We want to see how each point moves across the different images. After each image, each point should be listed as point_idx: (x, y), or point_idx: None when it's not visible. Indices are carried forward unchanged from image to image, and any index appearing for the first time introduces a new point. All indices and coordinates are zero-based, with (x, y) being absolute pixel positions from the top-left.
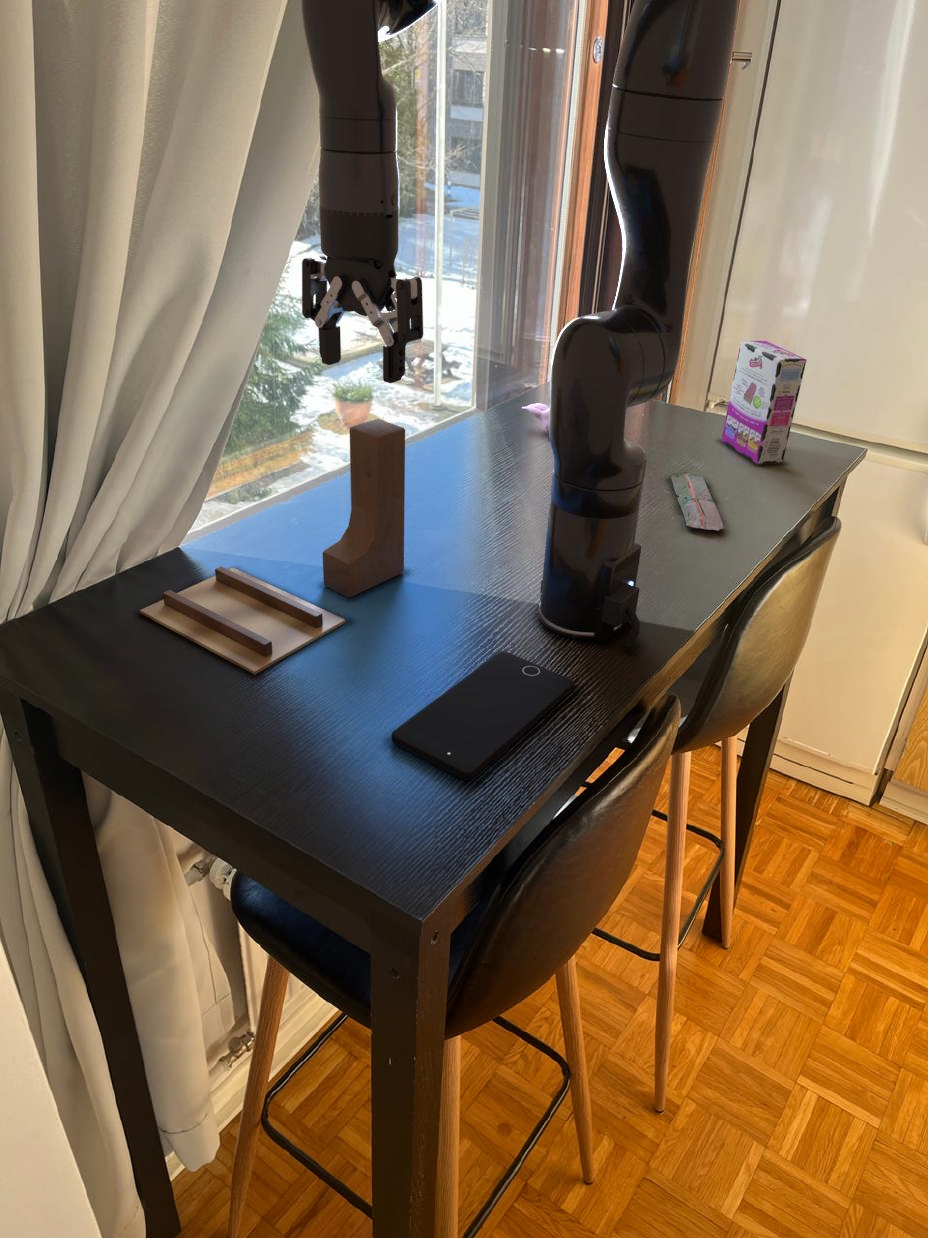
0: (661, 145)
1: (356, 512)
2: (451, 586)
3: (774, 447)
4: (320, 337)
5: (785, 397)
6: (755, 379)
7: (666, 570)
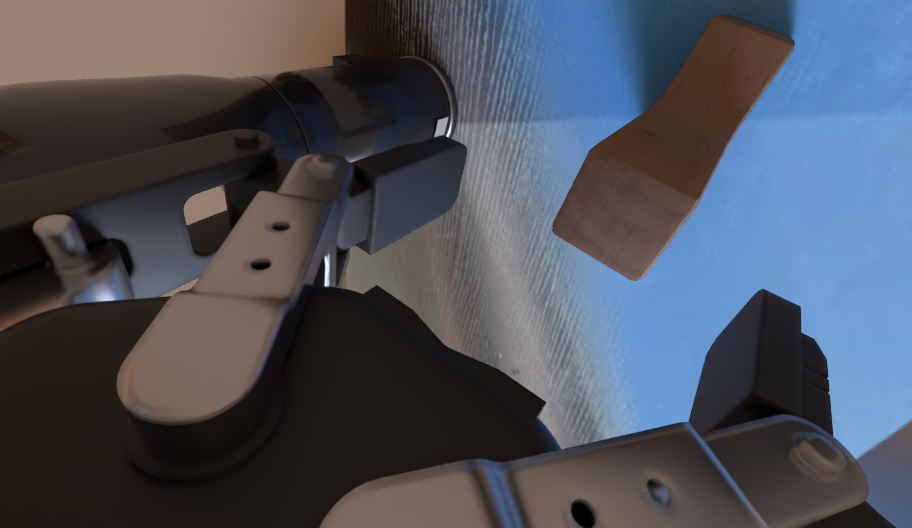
0: None
1: (711, 130)
2: (568, 128)
3: None
4: (814, 405)
5: None
6: None
7: None
